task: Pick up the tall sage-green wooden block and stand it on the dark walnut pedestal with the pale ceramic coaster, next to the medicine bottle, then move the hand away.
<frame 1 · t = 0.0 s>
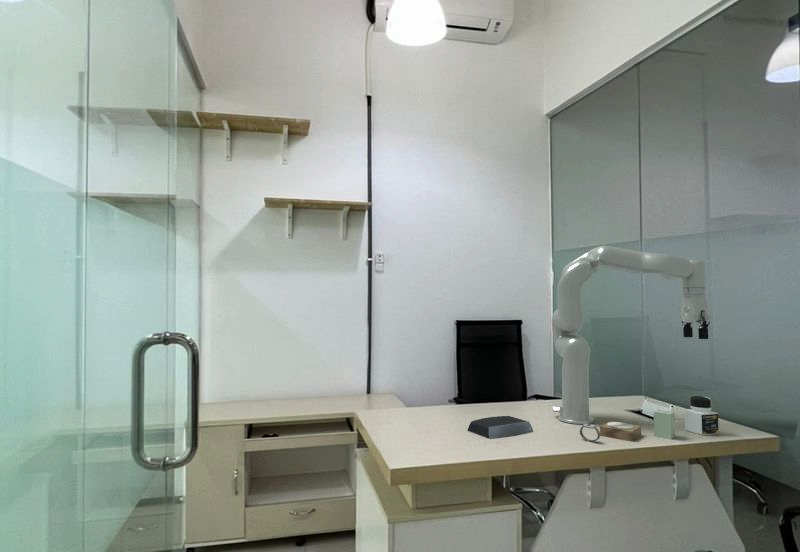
hand: (695, 338, 178), 31 cm above the table, tool pointing down, fingers open, 9 cm apart
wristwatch: (589, 441, 151), on the table
pedestal: (620, 435, 158), on the table
sage block: (664, 436, 157), on the table
medicine bottle: (701, 432, 163), on the table
external hard drive: (500, 433, 162), on the table
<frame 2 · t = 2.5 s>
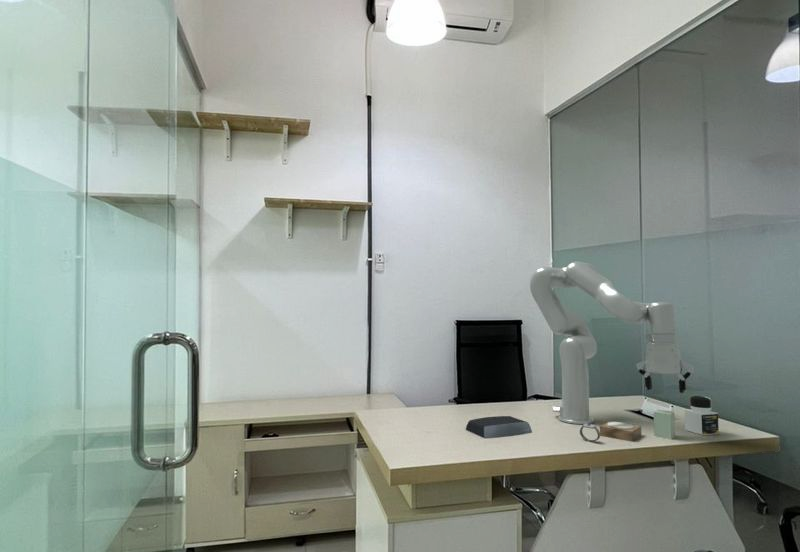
hand: (665, 390, 158), 15 cm above the table, tool pointing down, fingers open, 9 cm apart
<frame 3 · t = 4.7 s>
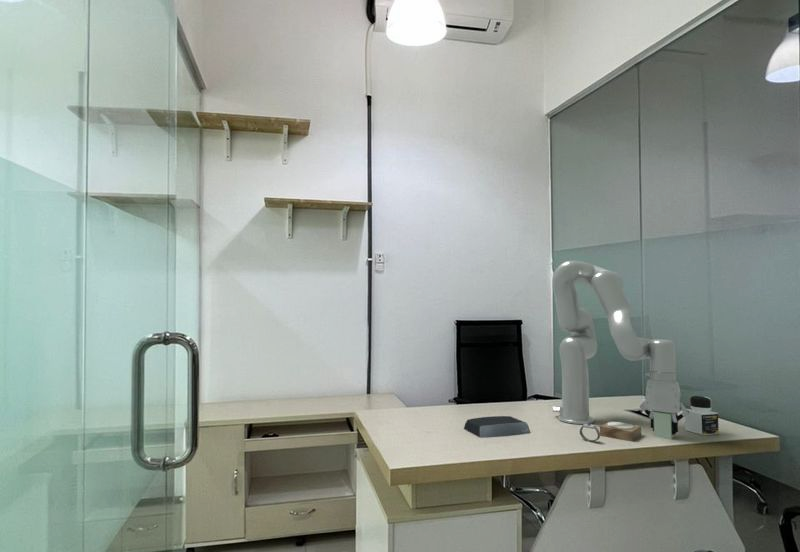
hand: (664, 431, 157), 1 cm above the table, tool pointing down, fingers closed on sage block, 5 cm apart
sage block: (664, 436, 157), on the table, touching gripper
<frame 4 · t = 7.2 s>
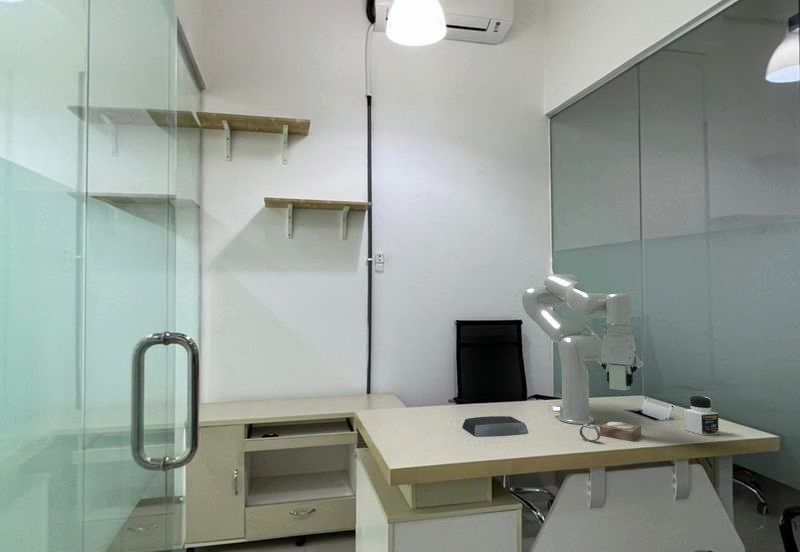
hand: (619, 384, 159), 17 cm above the table, tool pointing down, fingers closed on sage block, 5 cm apart
sage block: (619, 388, 159), point 15 cm above the table, touching gripper
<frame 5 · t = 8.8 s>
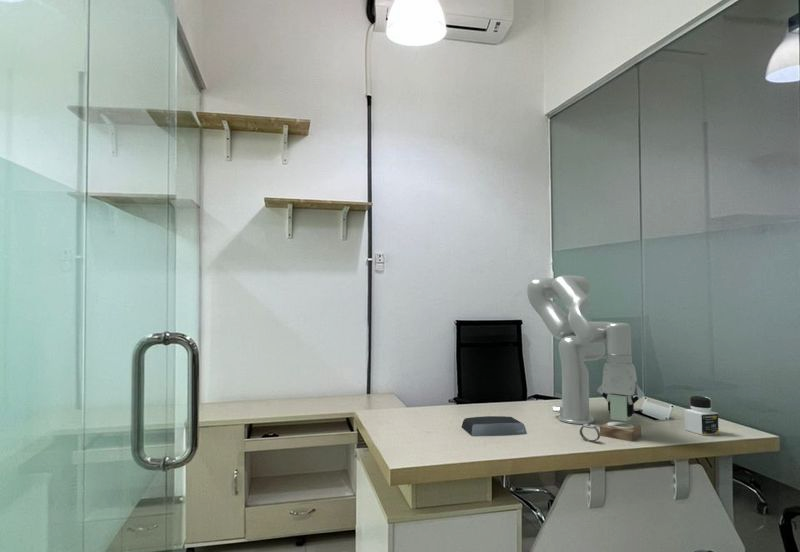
hand: (620, 414, 158), 7 cm above the table, tool pointing down, fingers closed on sage block, 5 cm apart
sage block: (620, 418, 158), point 5 cm above the table, touching gripper
when the fingers open (6 cm above the table, at t = 9.9 s): sage block stays where it is, resting on pedestal.
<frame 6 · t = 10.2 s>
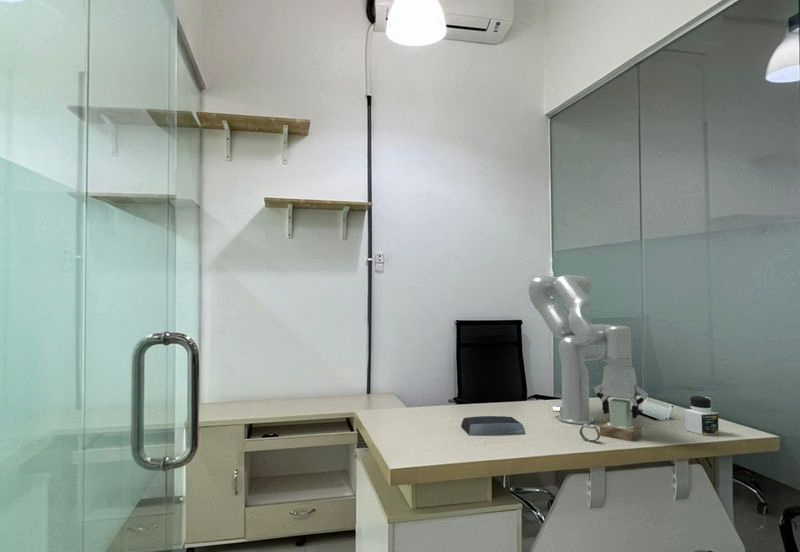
hand: (620, 415, 158), 7 cm above the table, tool pointing down, fingers open, 8 cm apart
sage block: (620, 424, 158), point 3 cm above the table, touching pedestal
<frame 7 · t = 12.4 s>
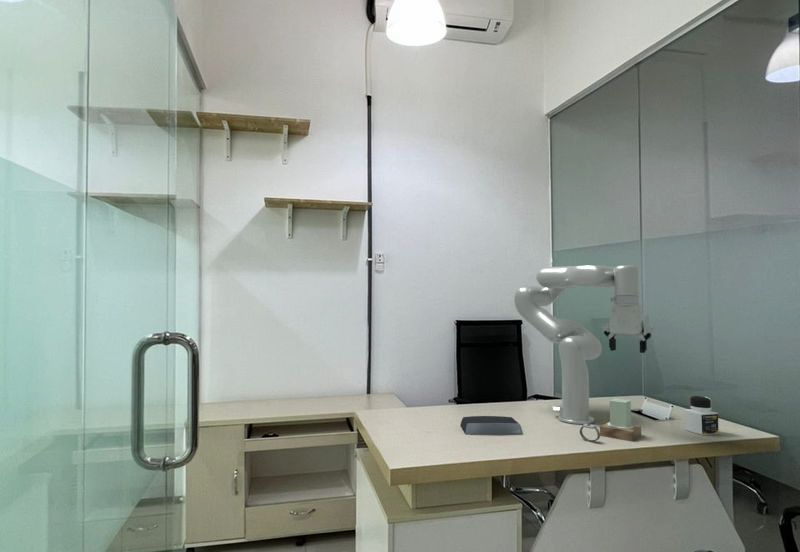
hand: (627, 351, 162), 27 cm above the table, tool pointing down, fingers open, 9 cm apart
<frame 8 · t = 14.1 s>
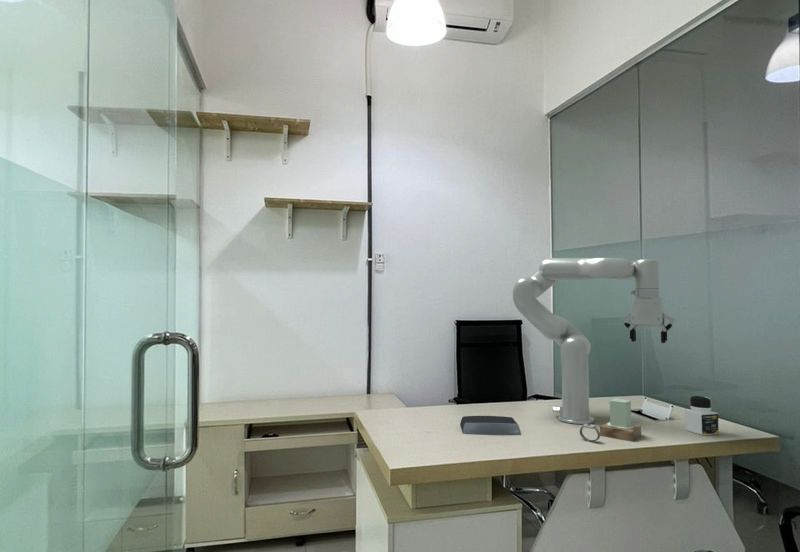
hand: (648, 342, 168), 30 cm above the table, tool pointing down, fingers open, 9 cm apart
at the end: sage block inside the target area on the pedestal (0.1 cm from its centre), point 3.4 cm above the pedestal's base; sage block tilted 0°; the gripper is holding nothing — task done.
